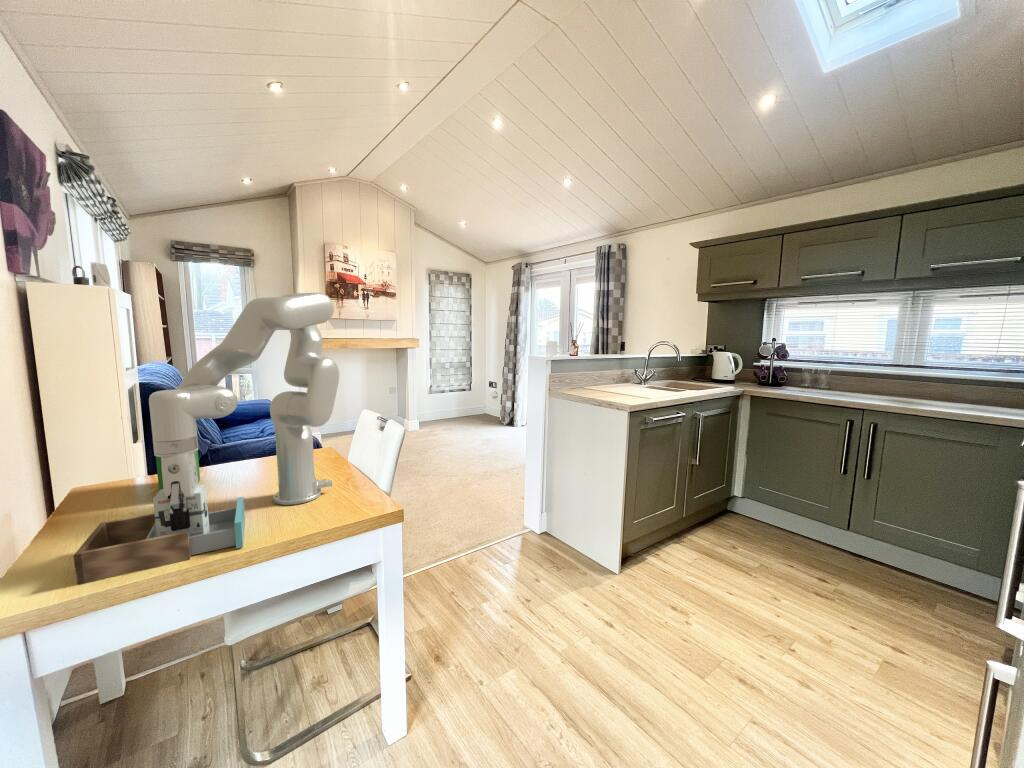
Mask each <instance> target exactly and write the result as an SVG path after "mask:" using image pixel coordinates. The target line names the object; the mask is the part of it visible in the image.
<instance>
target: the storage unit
mask: <svg viewBox="0 0 1024 768" xmlns="http://www.w3.org/2000/svg"><path fill="white" fill-rule="evenodd" d="M154 523H155V514H154V513H149V514H145V515H137V516H133V517H127V518H121V519H120V518H119V519H115V520H114V519H113V520H110V521H109V520H108V521H102V522H100V523H99V524H98V525H97V527H96V528H95V529H94V530H93V531H92V532H91V534H90V535H89V536H88V538H86V540H85V541H84V542H83V543H82V544H81V546H80V547H79V548H78V549H77V550H76V552H74V554H73V563H74V564H73V565H74V570H75V571H74V572H75V579H76V585H77V584H79V585H82V584H87V582H88V583H91V582H96V581H100V580H105V579H110V578H113V577H117V576H123V575H127V574H132V573H135V572H140V571H144V570H149V569H153V568H157V567H159V568H160V567H163V566H166V565H167V566H168V565H171V564H176V563H180V562H184V561H189V560H191V556H192V555H190V545H189V534H188V531H185V532H180V533H175V534H170V535H165V536H160V537H155V538H150V539H146V538H147V536H148V534H149V532H150V530H151V529H152V527H153V525H154Z"/></svg>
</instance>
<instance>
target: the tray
mask: <svg viewBox="0 0 1024 768" xmlns="http://www.w3.org/2000/svg"><path fill="white" fill-rule="evenodd" d="M244 501H245V500H244V496H239V497H237V502H236V507H233V508H228V509H227V508H226V509H223V510H217V511H212V512H210V511H209V512H208V517H209V530H210V531H209V533H206V534H201V535H196V536H191V537H189V545H190V556H194V555H198V554H203V553H207V552H213V551H216V550H221V549H225V548H230V547H234V546H236V549H240V548H244V538H245V524H246V514H245V502H244ZM155 537H157V533H156V524H155V523H154V525H153V527H152V529H151V530H150V532H149V534H148V536H147V538H146V539H150V538H155Z"/></svg>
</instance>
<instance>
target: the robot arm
mask: <svg viewBox="0 0 1024 768" xmlns="http://www.w3.org/2000/svg"><path fill="white" fill-rule="evenodd" d="M334 312H335V306H334V303H333V301H332V299H331V298H330V297H329V295H326V294H325V293H321V292H295V293H294V292H293V293H287V294H285V295H282V296H275V297H274V296H273V297H270V296H269V297H257V298H254V299H252V300H250V301H249V302H248V303H247V304H246V305H245V306H244V308H243V310H242V311H241V313H240V314H239V316H238V317H237V318H236V320H235V321H234V323H233V325H232V326H231V328H230V330H229V331H228V332H227V334H226V336H225V337H224V338H223V340H222V341H221V342H220V344H218V345H217V346H215V347H214V348H213V349H212V350H210V351H209V352H207V354H206V355H204V356H203V357H202V358H200V359H199V360H198V361H196V363H195V364H194V365H192V367H191V368H189V370H188V372H187V373H186V375H185V376H184V378H183V379H182V380H181V382H180V384H179V386H177V389H164V390H157V391H155V392H152V393H151V394H149V398H148V405H149V406H148V407H149V413H150V415H149V416H150V425H151V434H152V444H153V453H154V454H153V455H154V456H155V457H156V456H157V457H161V463H162V466H161V467H162V478H163V489H164V496H165V500H167V501H170V522H171V530H172V531H177V530H182V529H187V528H189V527H190V516H189V510H187V497H190V498H192V497H193V496H194V495H195V490H196V487H197V485H199V484H198V476H197V468H196V461H195V455H194V452H195V451H197V450H198V451H199V440H198V439H199V438H198V430H197V420H207V419H209V420H211V419H220V418H224V417H227V416H229V415H231V414H232V413H233V412H234V411H235V410H236V409H237V407H238V402H239V400H238V399H239V398H238V397H237V394H236V393H235V392H234V391H233V390H231V389H230V388H228V387H224V386H220V385H219V384H220V383H221V381H223V379H225V378H226V377H227V376H228V375H230V374H231V373H234V372H235V371H237V370H239V369H241V368H244V367H246V366H249V365H251V364H253V363H254V362H256V361H257V360H259V359H260V357H261V355H262V353H263V352H264V350H265V348H266V346H267V345H268V343H269V342H270V339H271V338H272V337H273V335H274V333H275V332H276V331H289V333H290V343H289V348H288V353H287V356H286V362H285V365H284V369H283V379H284V380H285V382H286V383H287V384H288V385H289V386H292V387H295V388H301V389H302V388H303V389H306V392H305V391H292V390H289V391H288V390H287V391H283V392H280V393H278V394H276V395H275V396H274V397H273V399H272V400H271V402H270V404H269V405H270V406H269V413H270V419H271V421H272V424H273V425H272V426H273V429H274V435H275V447H276V448H275V451H276V463H277V464H276V466H277V482H278V485H277V486H278V491H277V492H276V493H275V494H273V496H272V500H273V503H275V504H276V505H281V506H292V505H299V504H304V503H308V502H311V501H313V500H316V499H317V498H318V496H319V495H320V496H321V494H322V489H323V488H329V487H333V480H331V479H328V480H327V479H319V480H318V479H317V478H316V476H315V458H314V457H315V455H314V454H315V453H314V438H313V433H312V430H311V428H318V427H322V426H324V425H325V424H326V423H328V422H329V420H330V419H331V417H332V414H333V412H334V411H333V410H334V406H335V401H336V396H337V392H338V388H339V383H340V370H339V366H338V364H337V362H336V361H335V360H334V359H333V358H331V357H328V356H325V355H322V349H323V336H322V332H321V331H320V329H319V327H318V326H317V325H321V324H324V323H327V322H328V321H330V320H331V318H332V317H333V315H334ZM169 495H170V497H168V496H169ZM180 495H184V497H181V498H179V497H180ZM320 496H319V497H320ZM315 498H316V499H315ZM182 500H183V504H182V503H180V501H182Z"/></svg>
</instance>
